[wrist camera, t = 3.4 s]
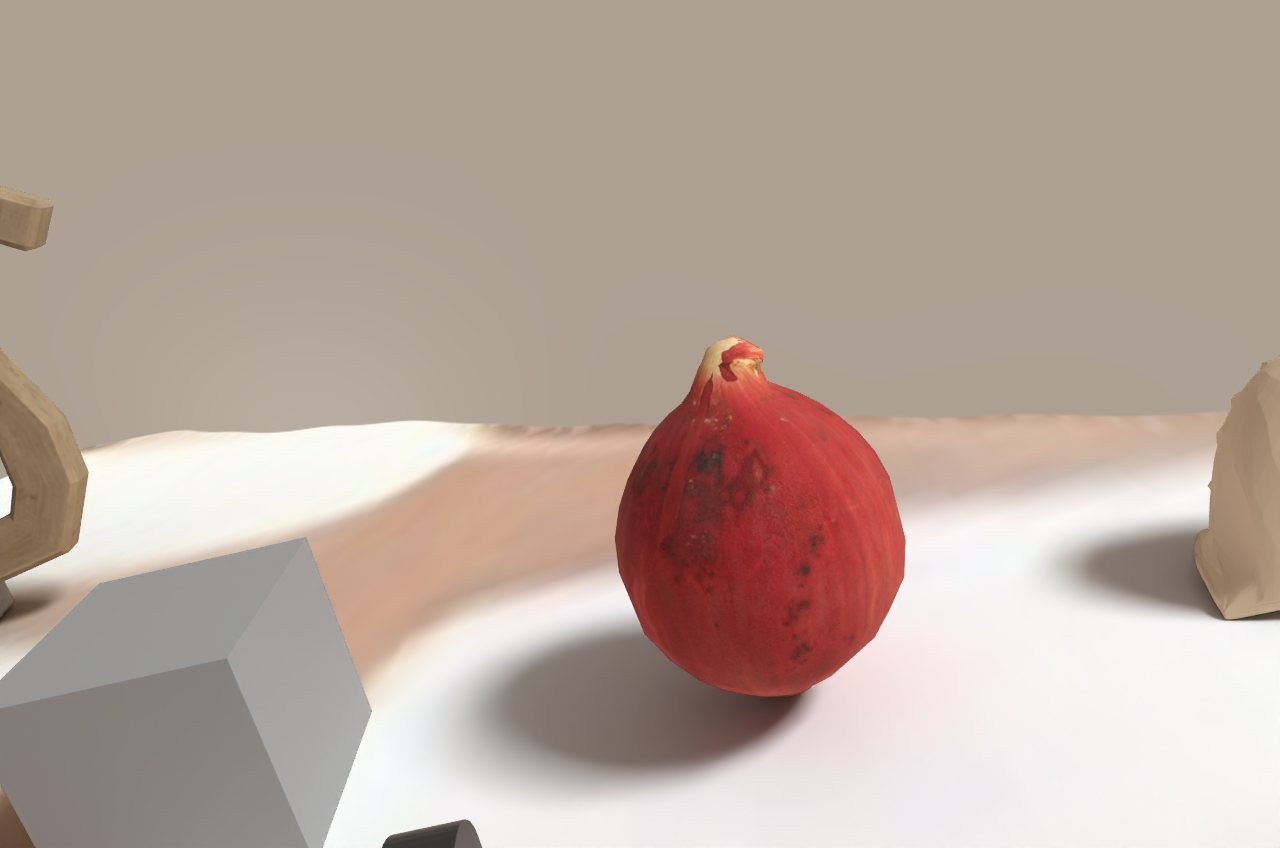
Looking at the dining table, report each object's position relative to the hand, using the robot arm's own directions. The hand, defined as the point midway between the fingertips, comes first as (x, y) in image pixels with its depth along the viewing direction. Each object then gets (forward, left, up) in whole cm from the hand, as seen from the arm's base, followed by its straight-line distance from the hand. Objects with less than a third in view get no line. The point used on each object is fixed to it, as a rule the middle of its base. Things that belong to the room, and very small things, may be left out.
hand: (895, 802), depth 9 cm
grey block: (-16, +3, -6) cm, 17 cm away
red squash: (-5, +9, -6) cm, 12 cm away
